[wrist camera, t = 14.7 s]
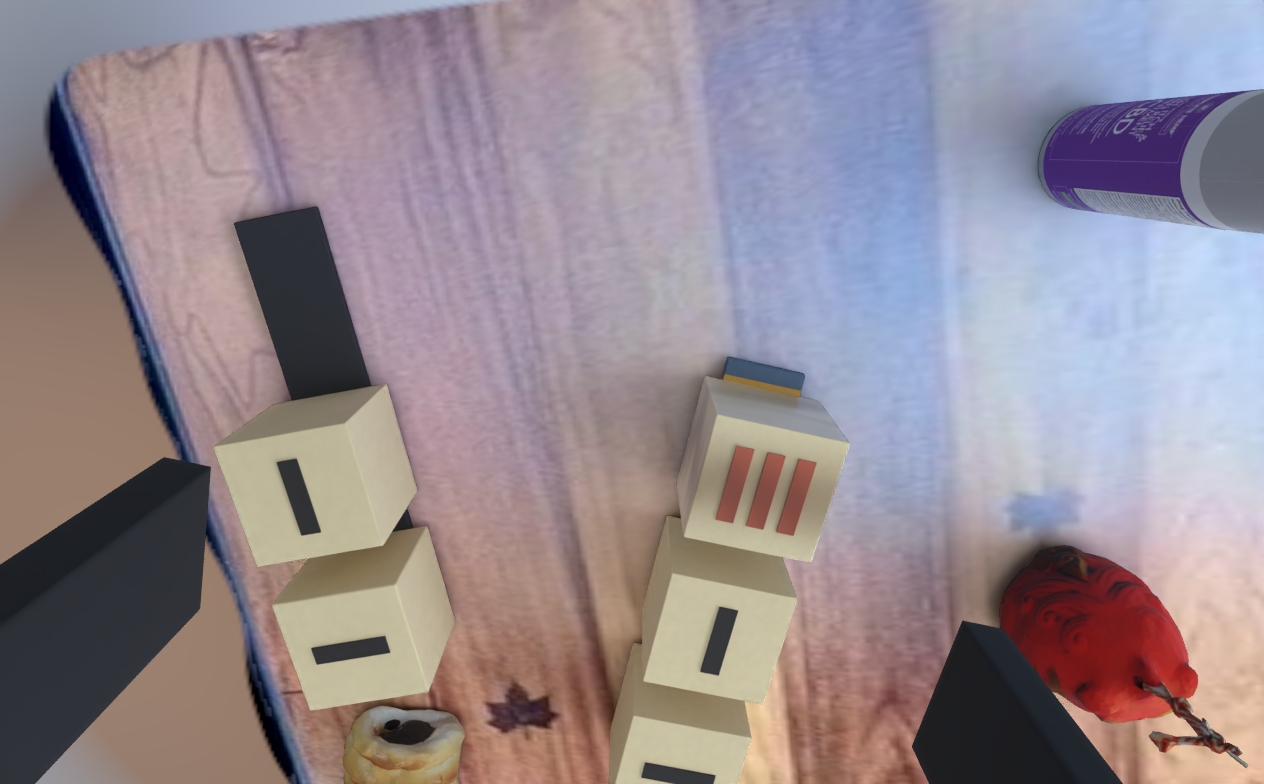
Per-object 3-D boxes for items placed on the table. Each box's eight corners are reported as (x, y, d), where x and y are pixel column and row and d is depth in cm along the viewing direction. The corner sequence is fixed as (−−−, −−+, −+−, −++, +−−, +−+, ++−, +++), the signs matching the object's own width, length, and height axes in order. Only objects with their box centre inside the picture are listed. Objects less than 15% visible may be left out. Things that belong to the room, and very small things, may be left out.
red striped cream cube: (704, 375, 40) (717, 414, 34) (819, 400, 40) (851, 443, 34) (676, 483, 41) (683, 538, 35) (786, 506, 42) (811, 564, 36)
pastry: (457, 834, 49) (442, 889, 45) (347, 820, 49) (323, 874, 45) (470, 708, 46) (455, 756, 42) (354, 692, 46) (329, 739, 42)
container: (1072, 87, 36) (1362, 48, 22) (1159, 130, 37) (1496, 119, 22) (1018, 185, 37) (1257, 208, 23) (1102, 225, 38) (1387, 271, 24)
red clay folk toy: (999, 663, 45) (1169, 902, 31) (970, 559, 43) (1138, 763, 29) (1133, 622, 44) (1372, 848, 30) (1110, 515, 42) (1353, 702, 28)
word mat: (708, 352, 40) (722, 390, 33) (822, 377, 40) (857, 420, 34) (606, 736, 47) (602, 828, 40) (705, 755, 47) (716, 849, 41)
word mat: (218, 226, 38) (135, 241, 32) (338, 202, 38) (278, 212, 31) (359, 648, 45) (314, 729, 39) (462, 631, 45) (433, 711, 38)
